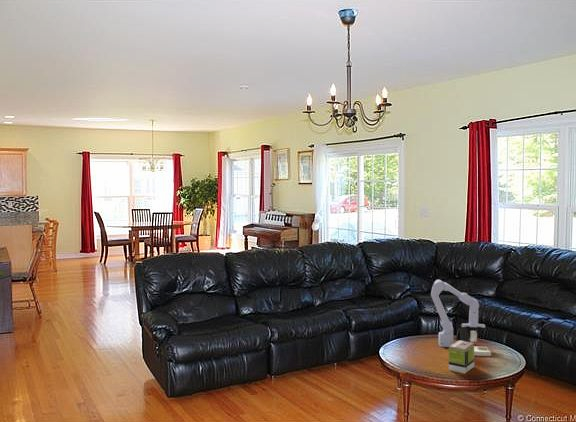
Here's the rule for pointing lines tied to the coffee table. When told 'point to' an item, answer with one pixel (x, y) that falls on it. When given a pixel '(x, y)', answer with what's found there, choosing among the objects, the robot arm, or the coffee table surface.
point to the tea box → (461, 356)
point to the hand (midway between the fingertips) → (473, 338)
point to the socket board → (481, 351)
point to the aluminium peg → (473, 336)
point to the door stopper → (462, 334)
